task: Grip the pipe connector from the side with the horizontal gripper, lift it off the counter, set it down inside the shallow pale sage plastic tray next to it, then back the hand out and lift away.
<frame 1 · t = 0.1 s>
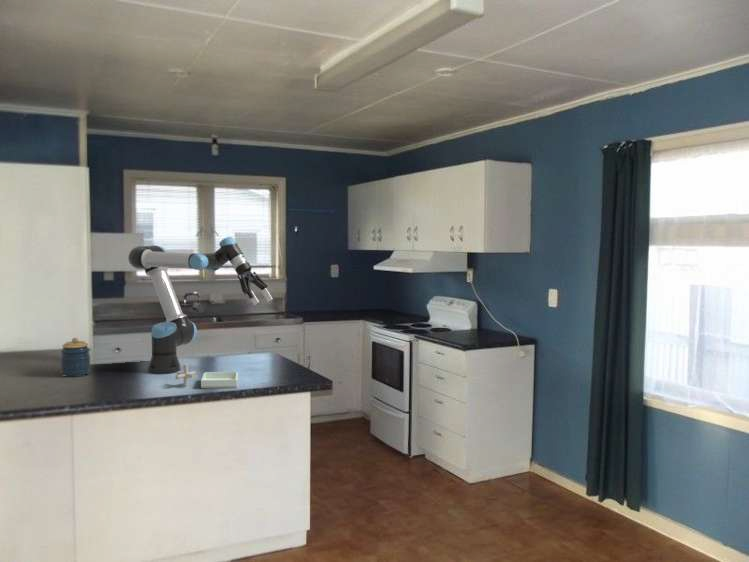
hand: (263, 302, 312), 36 cm above the countertop, tool tilted 35°, fingers open, 13 cm apart
tray: (220, 384, 295), on the countertop
pipe connector: (185, 386, 291), on the countertop
canister: (75, 374, 307), on the countertop
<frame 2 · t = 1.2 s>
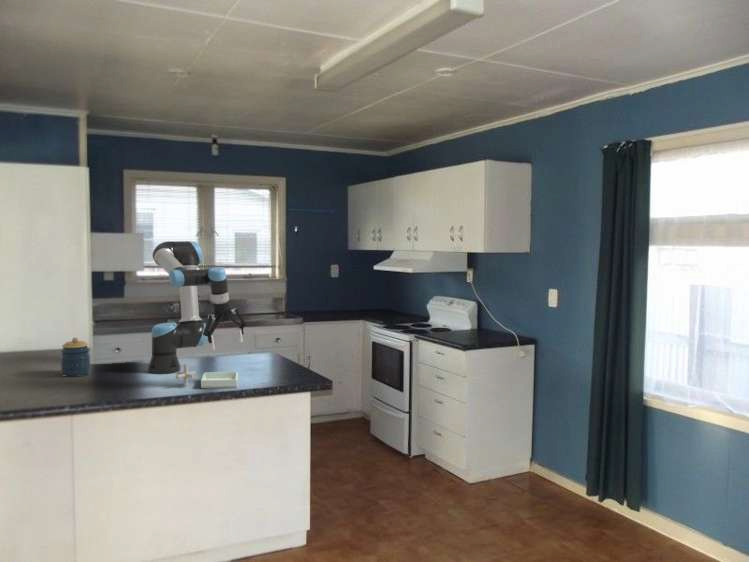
hand: (227, 345, 298), 17 cm above the countertop, tool pointing down, fingers open, 13 cm apart
nothing on the countertop moved.
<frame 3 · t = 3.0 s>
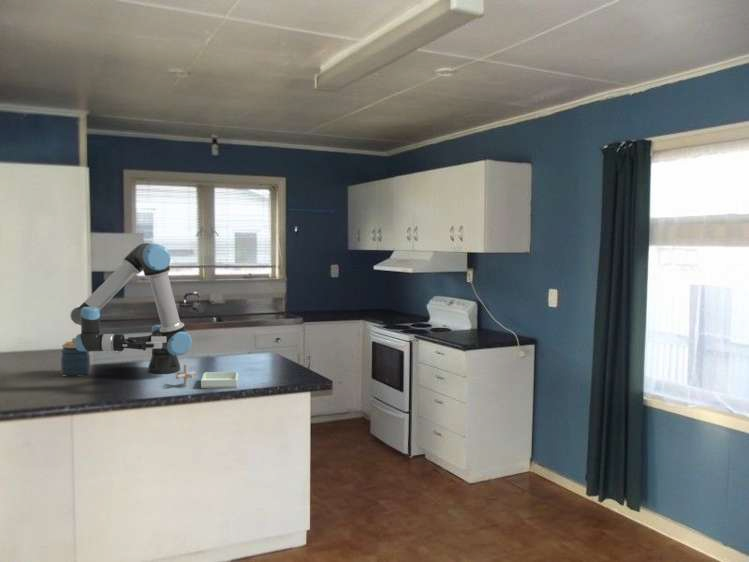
hand: (164, 342, 287), 20 cm above the countertop, tool horizontal, fingers open, 13 cm apart
nothing on the countertop moved.
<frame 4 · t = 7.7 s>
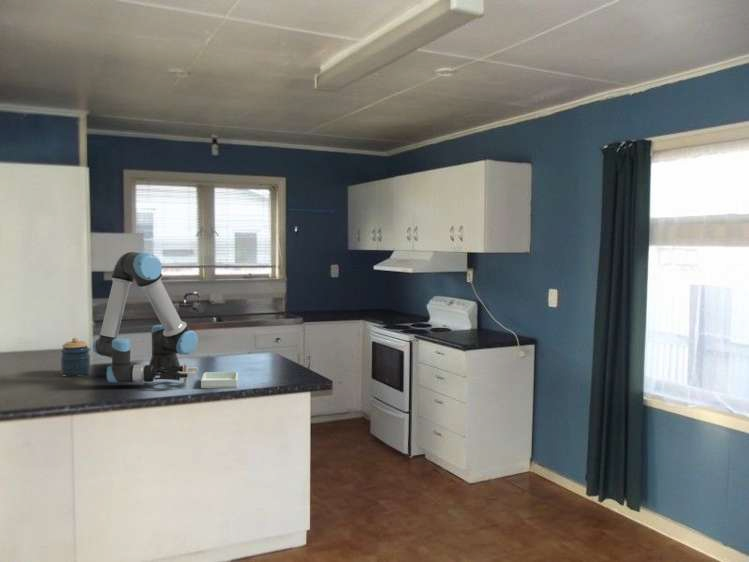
hand: (196, 372, 291), 6 cm above the countertop, tool horizontal, fingers closed on pipe connector, 9 cm apart
pipe connector: (185, 386, 291), on the countertop, touching gripper
everything else where it was.
when the fingers open (9 cm above the countertop, at t = 12.6 s): pipe connector drops 2 cm, resting on tray.
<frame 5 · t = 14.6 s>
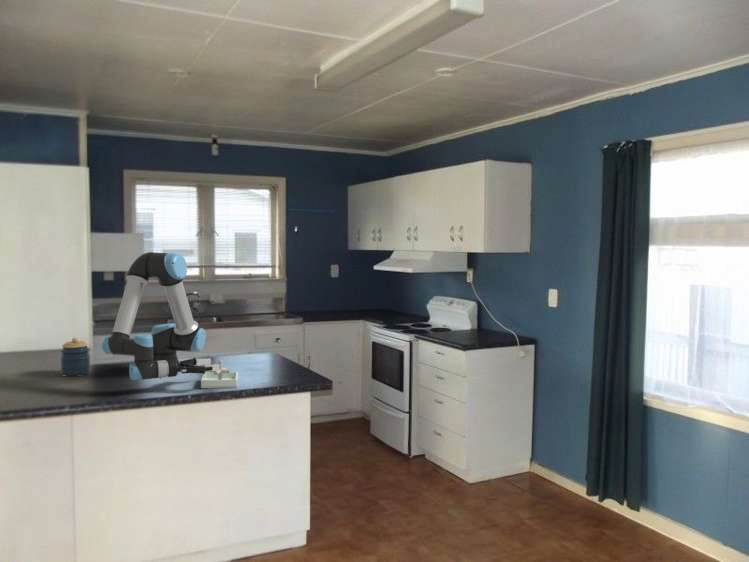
hand: (214, 364, 293), 10 cm above the countertop, tool horizontal, fingers open, 13 cm apart
pipe connector: (220, 382, 295), point 1 cm above the countertop, touching tray
everything else where it was.
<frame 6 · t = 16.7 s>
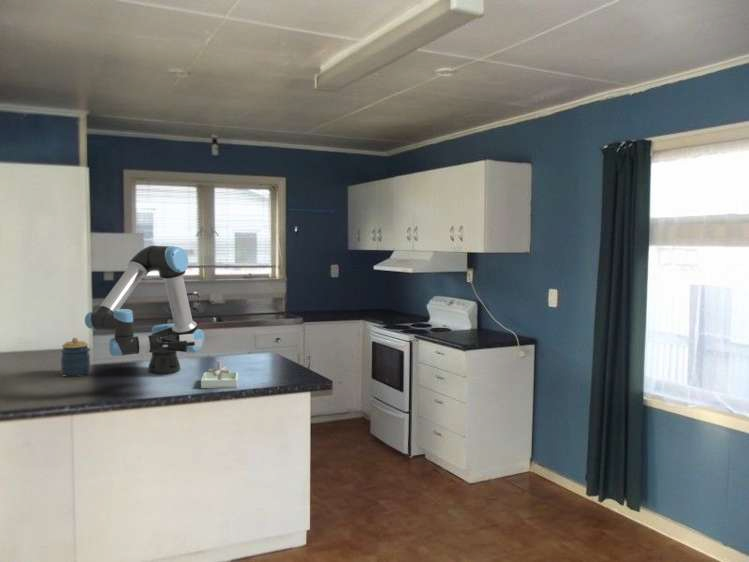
hand: (197, 339, 288), 22 cm above the countertop, tool horizontal, fingers open, 13 cm apart
nothing on the countertop moved.
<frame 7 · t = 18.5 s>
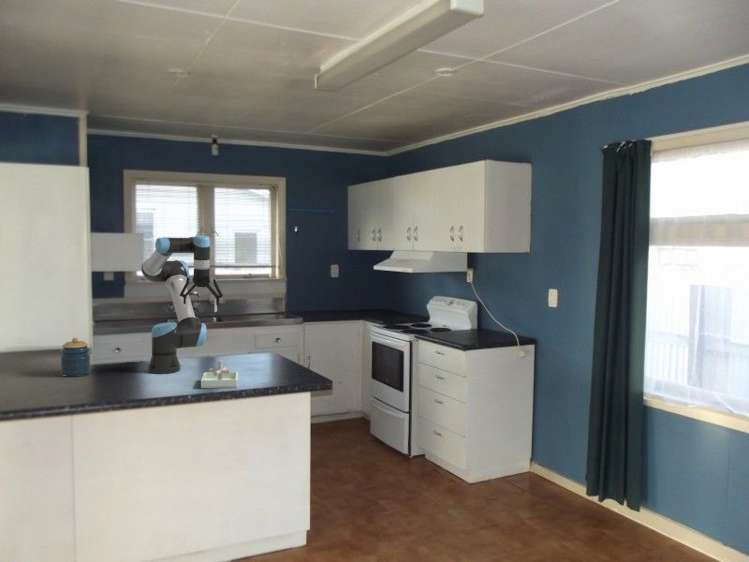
hand: (201, 311, 313), 31 cm above the countertop, tool pointing down, fingers open, 13 cm apart
nothing on the countertop moved.
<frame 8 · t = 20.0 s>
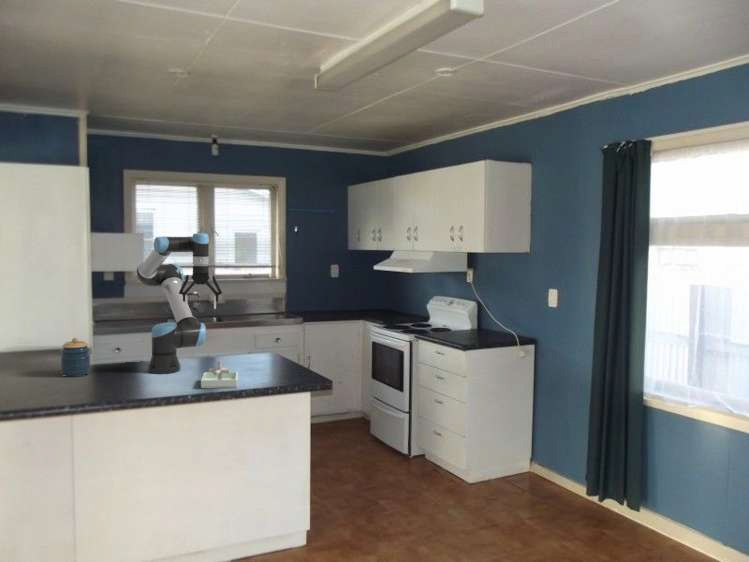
hand: (200, 308, 314), 32 cm above the countertop, tool pointing down, fingers open, 13 cm apart
nothing on the countertop moved.
at the end: pipe connector inside the target area on the tray (0.1 cm from its centre), point 0.8 cm above the tray's base; the gripper is holding nothing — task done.
